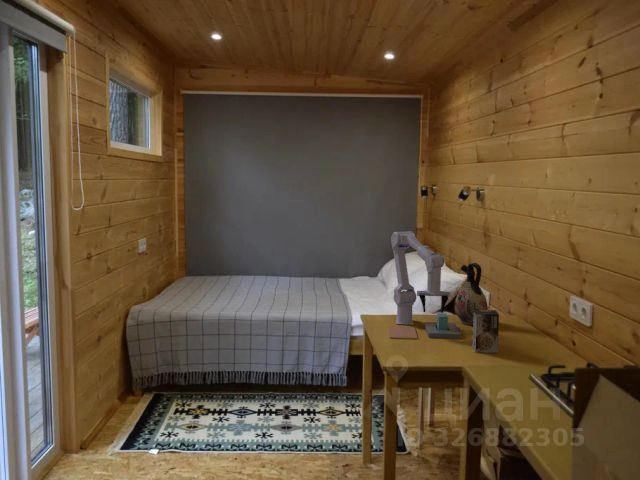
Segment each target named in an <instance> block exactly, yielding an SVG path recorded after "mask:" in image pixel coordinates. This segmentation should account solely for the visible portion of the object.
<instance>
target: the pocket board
mask: <svg viewBox="0 0 640 480" xmlns="http://www.w3.org/2000/svg"><path fill="white" fill-rule="evenodd" d="M424 329H425V332H426V335H427V337H428V339H429V338H431V339H462V333H461V331H460V329H459V328H458V325H457V324H456V323H455V322H448V330H437V321H435V322H433V321H424Z"/></svg>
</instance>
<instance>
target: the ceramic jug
mask: <svg viewBox="0 0 640 480" xmlns="http://www.w3.org/2000/svg"><path fill="white" fill-rule="evenodd" d="M475 270H476V271H475ZM460 271H462V272H464V273H465V274H466V275H467V278H466V281H465V283H464V284H463V285H462V286H461V287H460V289H459V291H458V293H457V295H456V298H455V301H454V312H455V315H456V316H457V317H458V319H459V321H460V322H461V324H463V325H469V326H473V316H474V310H489V309H488V302H487V301H488V300H487V298H486V295H485V293H484V292H483V290H482V289H481V287H480V282H481V279H482V278H481V277H482V267H481V265H480V264H478V263H477V262H470V263H468V265H466V264H463V265H462V266H461V267H460Z"/></svg>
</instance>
